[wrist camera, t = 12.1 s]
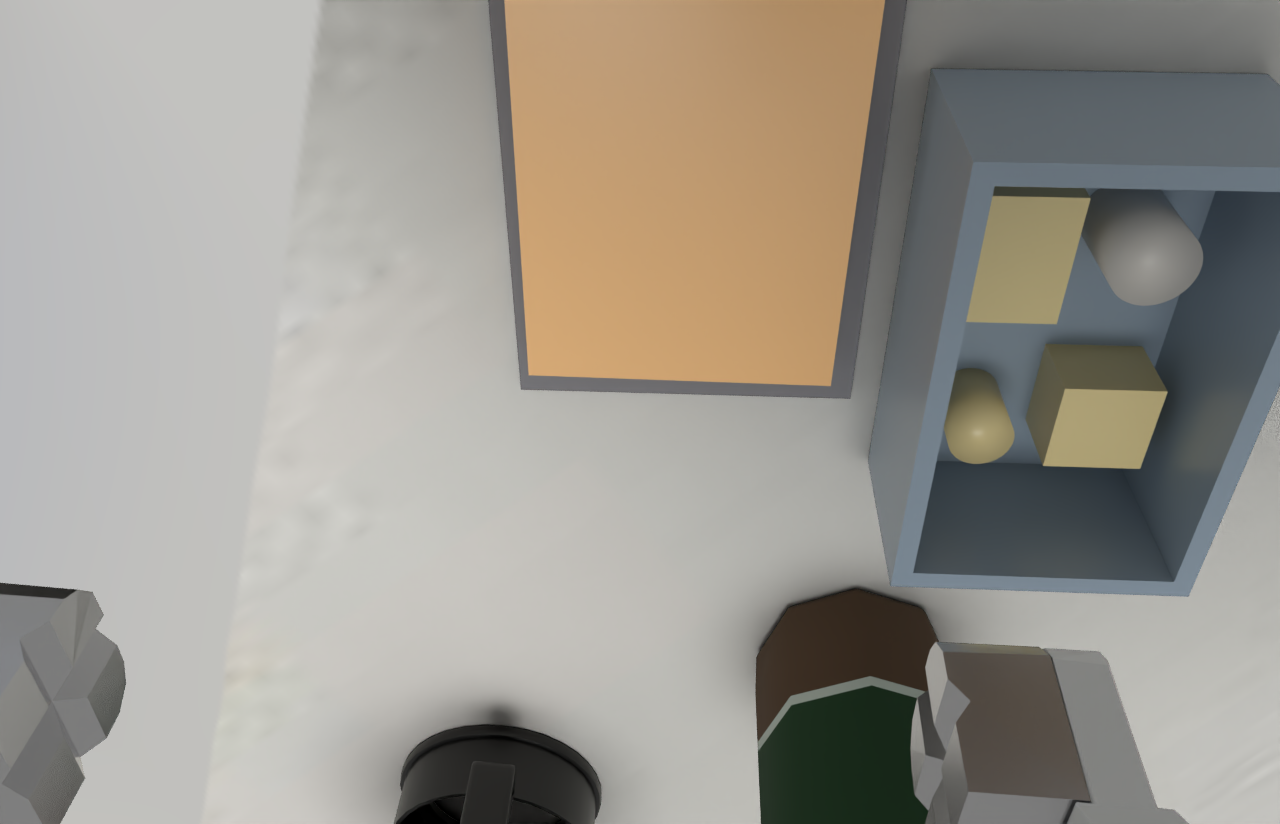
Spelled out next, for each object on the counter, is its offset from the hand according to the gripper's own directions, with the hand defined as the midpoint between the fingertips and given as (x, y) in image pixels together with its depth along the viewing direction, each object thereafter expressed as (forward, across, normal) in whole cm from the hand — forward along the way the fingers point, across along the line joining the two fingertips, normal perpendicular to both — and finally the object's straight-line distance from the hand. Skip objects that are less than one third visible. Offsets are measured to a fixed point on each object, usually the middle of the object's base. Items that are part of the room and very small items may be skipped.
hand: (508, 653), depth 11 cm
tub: (+23, -12, +10) cm, 28 cm away
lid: (+23, -1, +3) cm, 23 cm away
